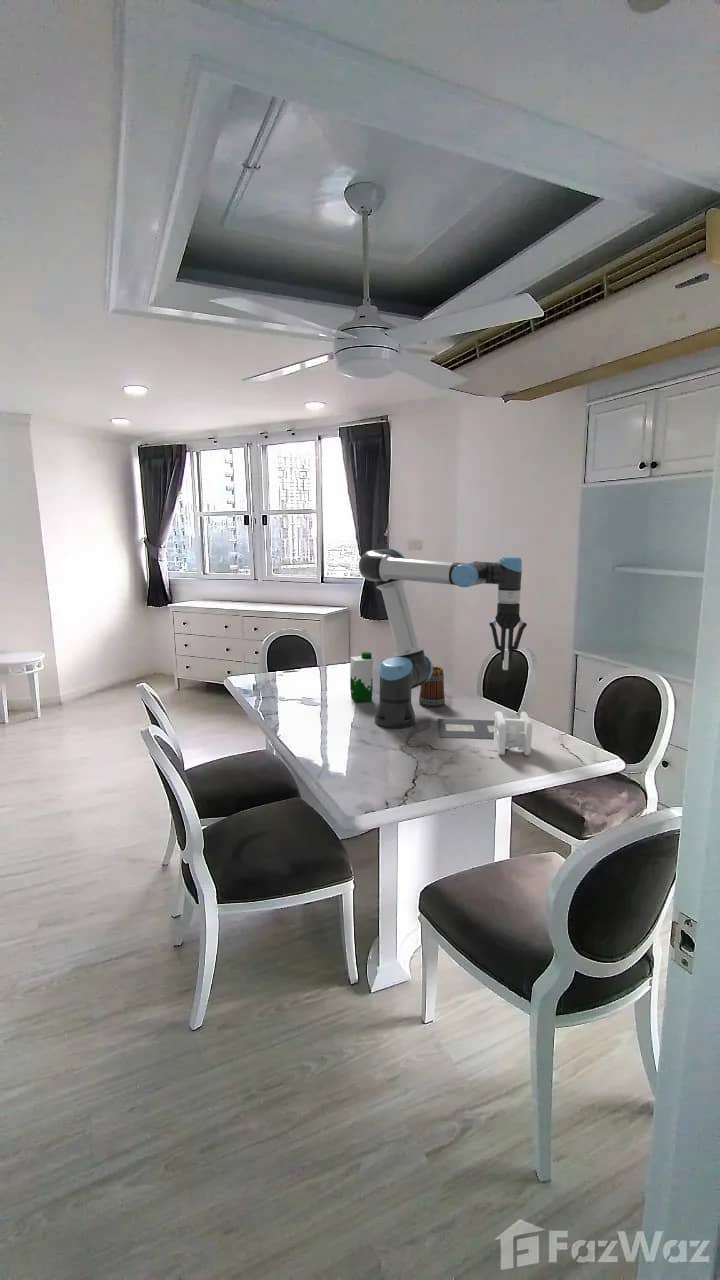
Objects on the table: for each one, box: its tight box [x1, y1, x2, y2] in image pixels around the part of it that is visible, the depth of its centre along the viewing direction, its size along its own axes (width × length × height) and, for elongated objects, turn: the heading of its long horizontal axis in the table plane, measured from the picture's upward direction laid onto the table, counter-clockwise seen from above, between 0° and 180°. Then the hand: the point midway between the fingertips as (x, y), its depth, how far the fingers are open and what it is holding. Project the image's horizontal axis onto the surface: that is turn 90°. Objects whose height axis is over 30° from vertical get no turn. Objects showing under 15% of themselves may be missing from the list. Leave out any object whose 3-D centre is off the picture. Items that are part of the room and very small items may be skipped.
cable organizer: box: [493, 710, 533, 757], centre depth 196 cm, size 15×11×12 cm
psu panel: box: [437, 718, 495, 740], centre depth 217 cm, size 30×20×1 cm, turn 85°
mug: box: [418, 664, 446, 709], centre depth 249 cm, size 16×11×15 cm
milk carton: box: [349, 651, 374, 704], centre depth 251 cm, size 9×9×20 cm
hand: (505, 668), depth 212 cm, fingers closed
